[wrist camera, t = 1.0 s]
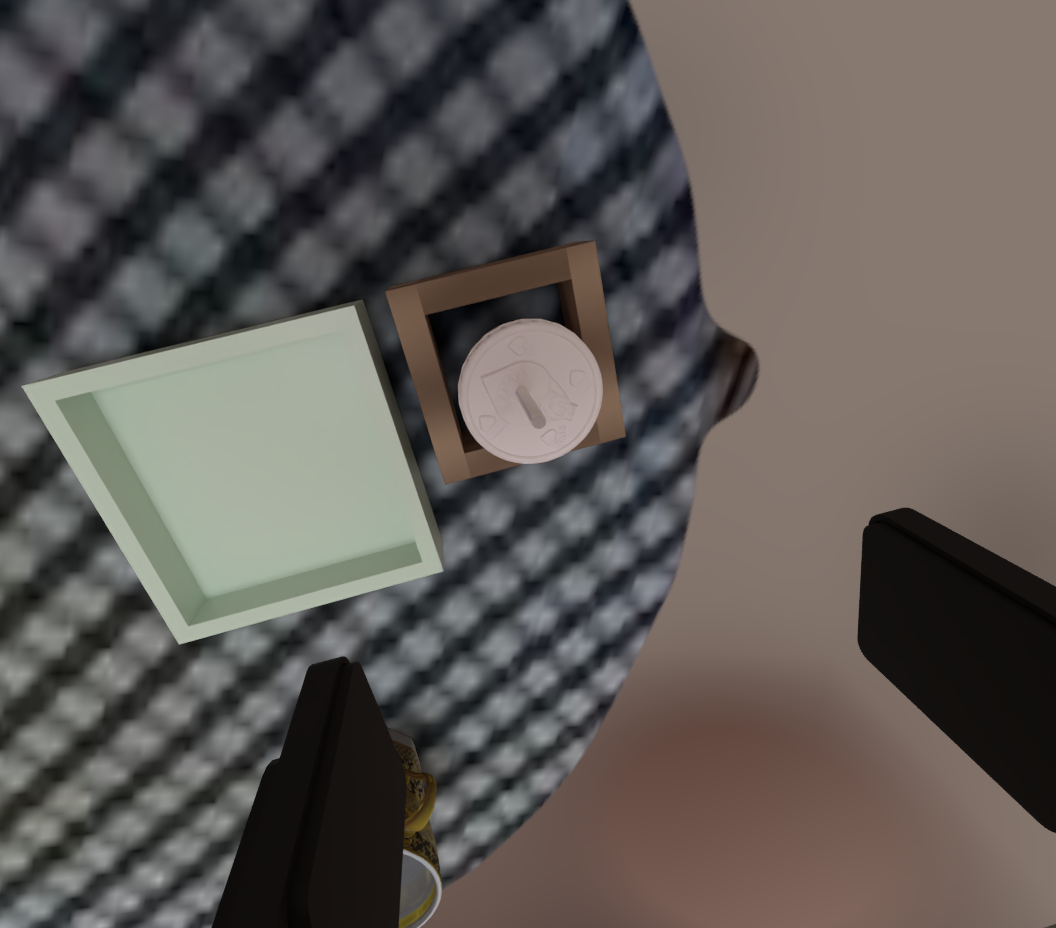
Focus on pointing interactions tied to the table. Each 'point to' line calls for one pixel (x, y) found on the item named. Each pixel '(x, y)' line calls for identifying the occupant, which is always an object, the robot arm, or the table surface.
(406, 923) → the ceramic cup
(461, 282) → the socket block
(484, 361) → the smoothie
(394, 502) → the tray
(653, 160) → the table surface
